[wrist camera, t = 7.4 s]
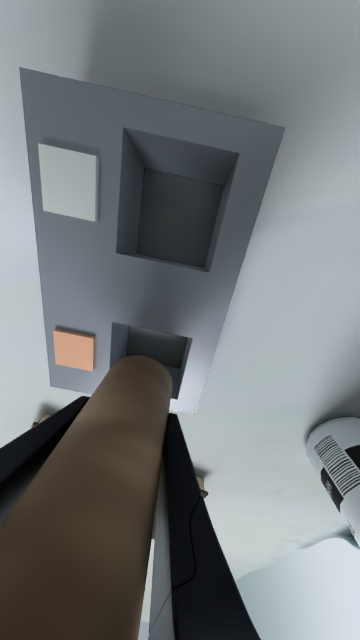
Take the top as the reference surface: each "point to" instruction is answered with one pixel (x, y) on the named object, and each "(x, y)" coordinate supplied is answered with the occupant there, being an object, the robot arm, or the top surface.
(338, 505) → the supplement can
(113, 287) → the socket block
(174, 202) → the top surface
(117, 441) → the walnut peg
